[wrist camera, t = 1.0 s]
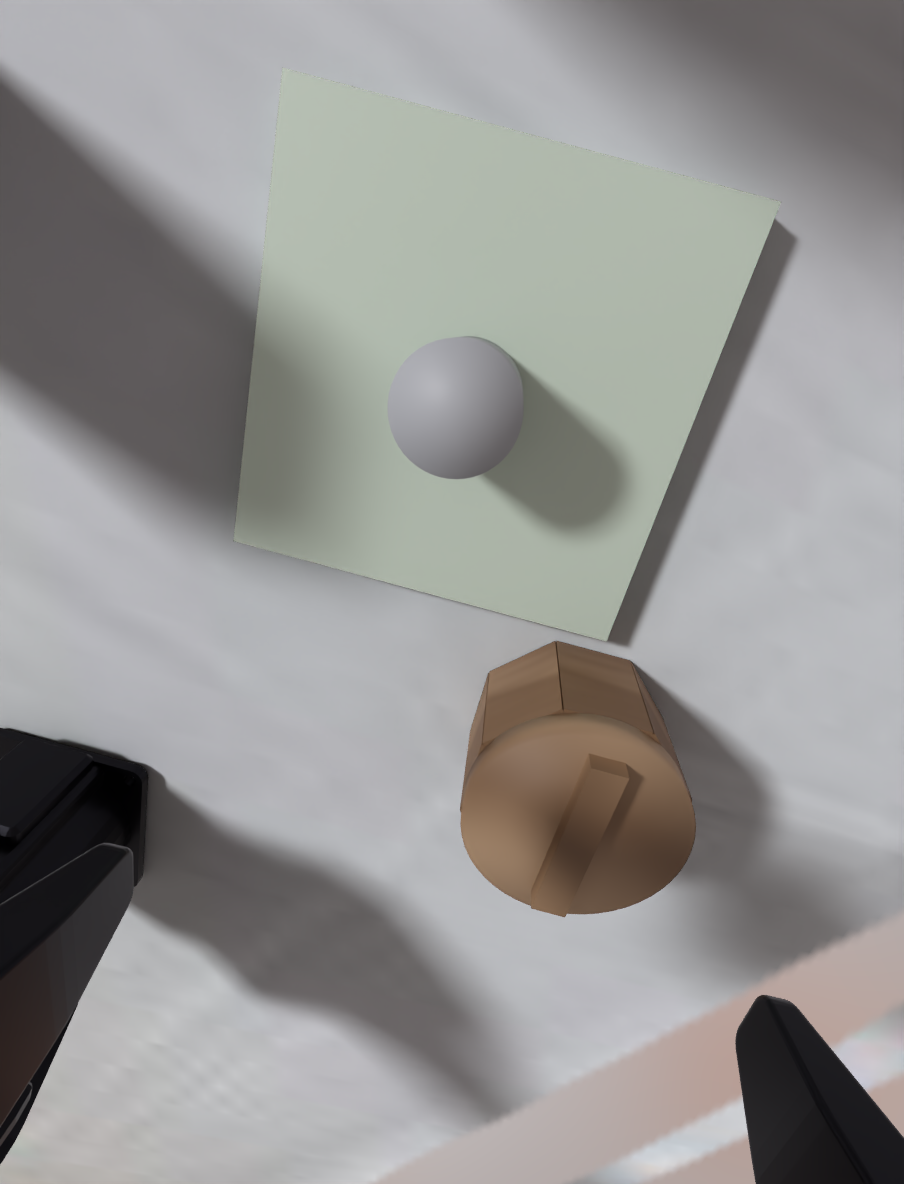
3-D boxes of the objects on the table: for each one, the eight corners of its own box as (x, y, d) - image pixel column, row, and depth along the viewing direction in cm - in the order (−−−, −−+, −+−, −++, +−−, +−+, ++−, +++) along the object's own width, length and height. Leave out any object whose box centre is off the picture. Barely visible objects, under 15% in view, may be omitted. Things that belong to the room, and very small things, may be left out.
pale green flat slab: (602, 627, 20) (623, 704, 16) (246, 531, 20) (175, 583, 16) (765, 209, 15) (855, 164, 11) (297, 83, 15) (213, -8, 11)
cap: (620, 816, 23) (648, 955, 18) (454, 771, 23) (435, 898, 18) (687, 673, 20) (743, 788, 15) (501, 623, 20) (493, 721, 15)
